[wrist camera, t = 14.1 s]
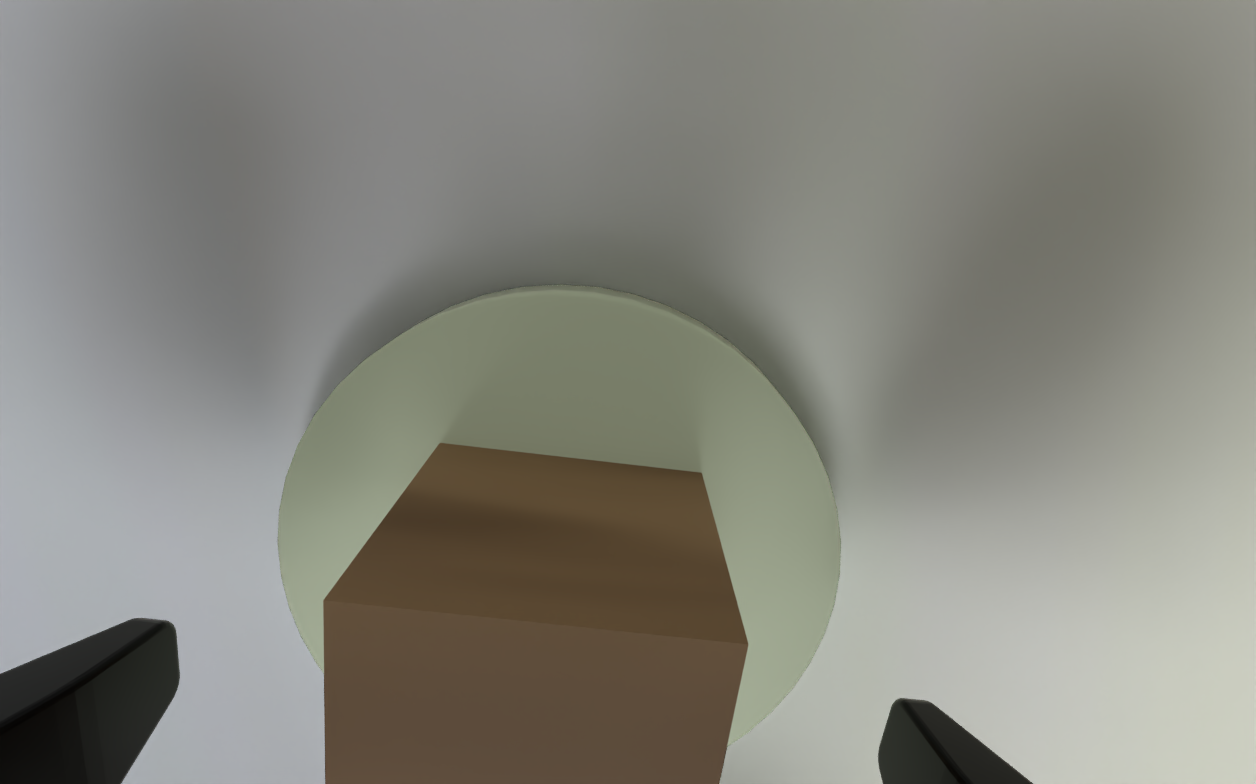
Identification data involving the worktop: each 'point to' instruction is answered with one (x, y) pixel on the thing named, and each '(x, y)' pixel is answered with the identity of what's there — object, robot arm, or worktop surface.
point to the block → (534, 629)
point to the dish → (579, 450)
